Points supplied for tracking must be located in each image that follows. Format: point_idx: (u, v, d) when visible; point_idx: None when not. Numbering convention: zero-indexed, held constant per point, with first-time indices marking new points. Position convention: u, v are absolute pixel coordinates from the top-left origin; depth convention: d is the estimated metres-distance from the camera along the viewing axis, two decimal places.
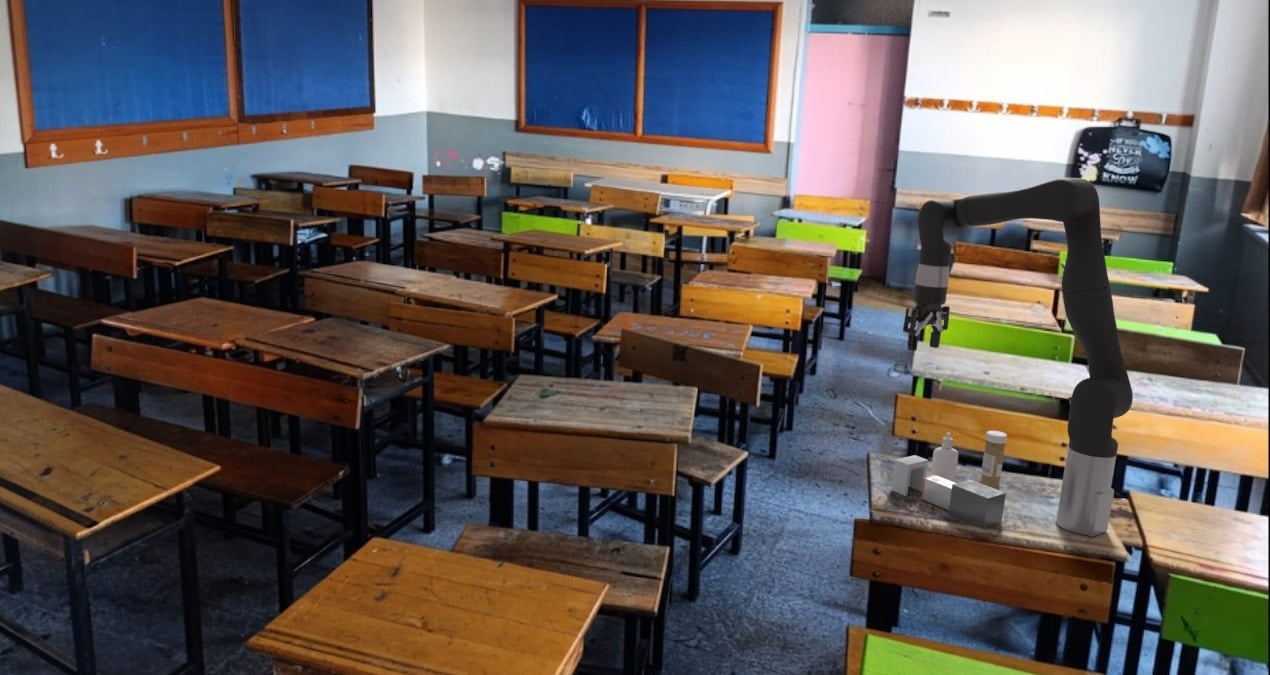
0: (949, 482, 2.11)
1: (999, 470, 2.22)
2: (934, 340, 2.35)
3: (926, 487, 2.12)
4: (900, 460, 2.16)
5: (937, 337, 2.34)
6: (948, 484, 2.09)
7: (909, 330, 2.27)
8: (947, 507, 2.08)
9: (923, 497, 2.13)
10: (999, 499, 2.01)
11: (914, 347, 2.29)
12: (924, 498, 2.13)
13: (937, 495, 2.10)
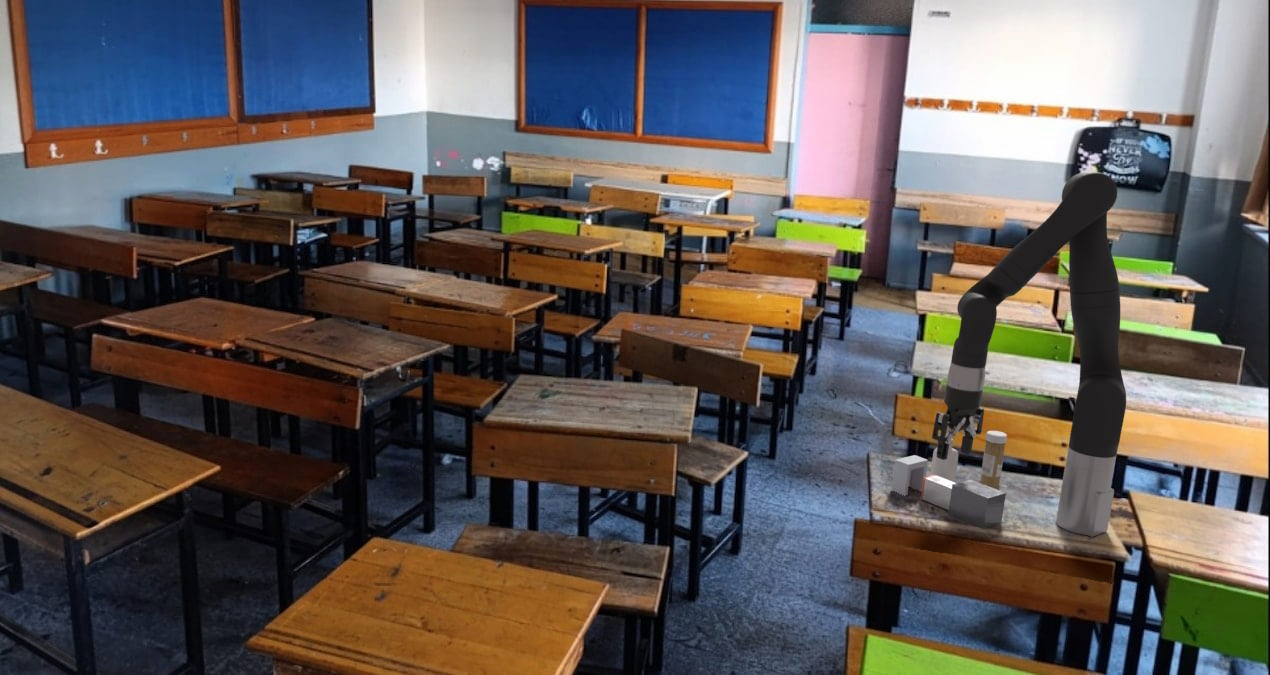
0: (949, 482, 2.11)
1: (999, 470, 2.22)
2: (966, 445, 2.10)
3: (926, 487, 2.12)
4: (900, 460, 2.16)
5: (969, 443, 2.09)
6: (948, 484, 2.09)
7: (939, 438, 2.02)
8: (947, 507, 2.08)
9: (923, 497, 2.13)
10: (999, 499, 2.01)
11: (944, 455, 2.05)
12: (924, 498, 2.13)
13: (937, 495, 2.10)
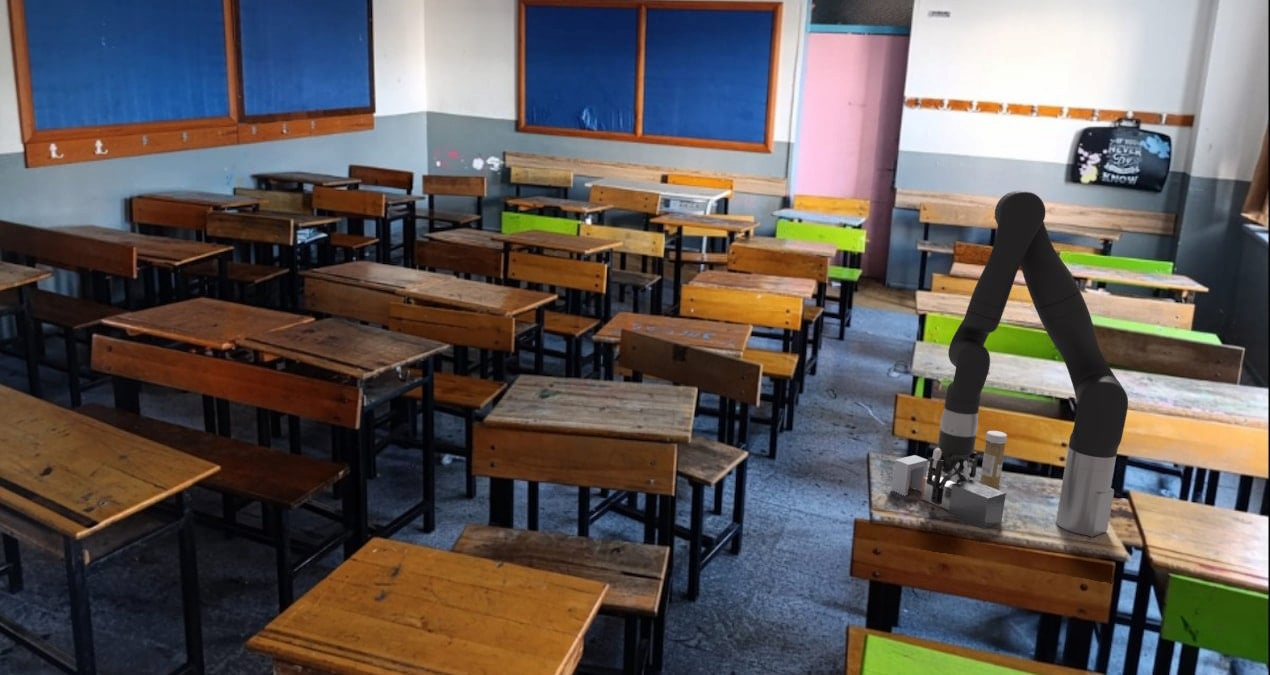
0: (949, 482, 2.11)
1: (999, 470, 2.22)
2: None
3: (926, 487, 2.12)
4: (900, 460, 2.16)
5: None
6: (948, 484, 2.09)
7: (934, 483, 2.04)
8: (947, 507, 2.08)
9: (923, 497, 2.13)
10: (999, 499, 2.01)
11: (938, 500, 2.07)
12: (924, 498, 2.13)
13: None
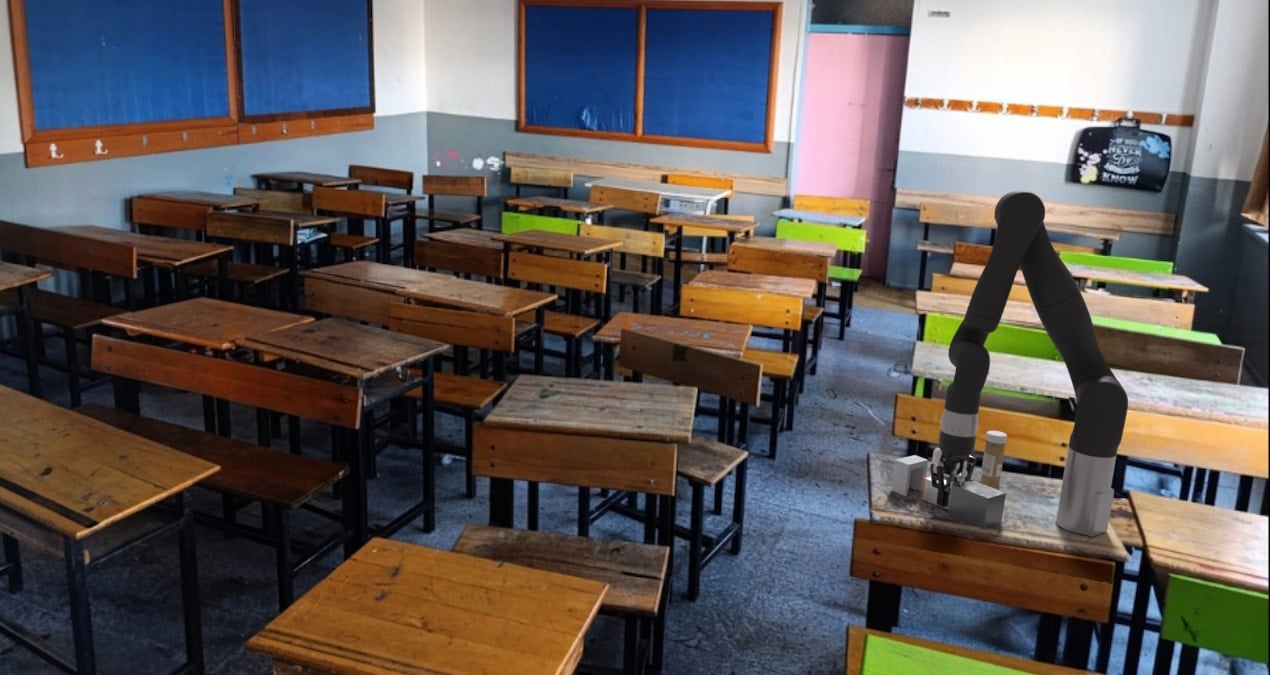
0: None
1: (999, 470, 2.22)
2: None
3: (926, 487, 2.12)
4: (900, 460, 2.16)
5: None
6: None
7: (939, 486, 2.06)
8: (947, 507, 2.08)
9: (923, 497, 2.13)
10: (999, 499, 2.01)
11: (944, 503, 2.08)
12: (924, 498, 2.13)
13: None
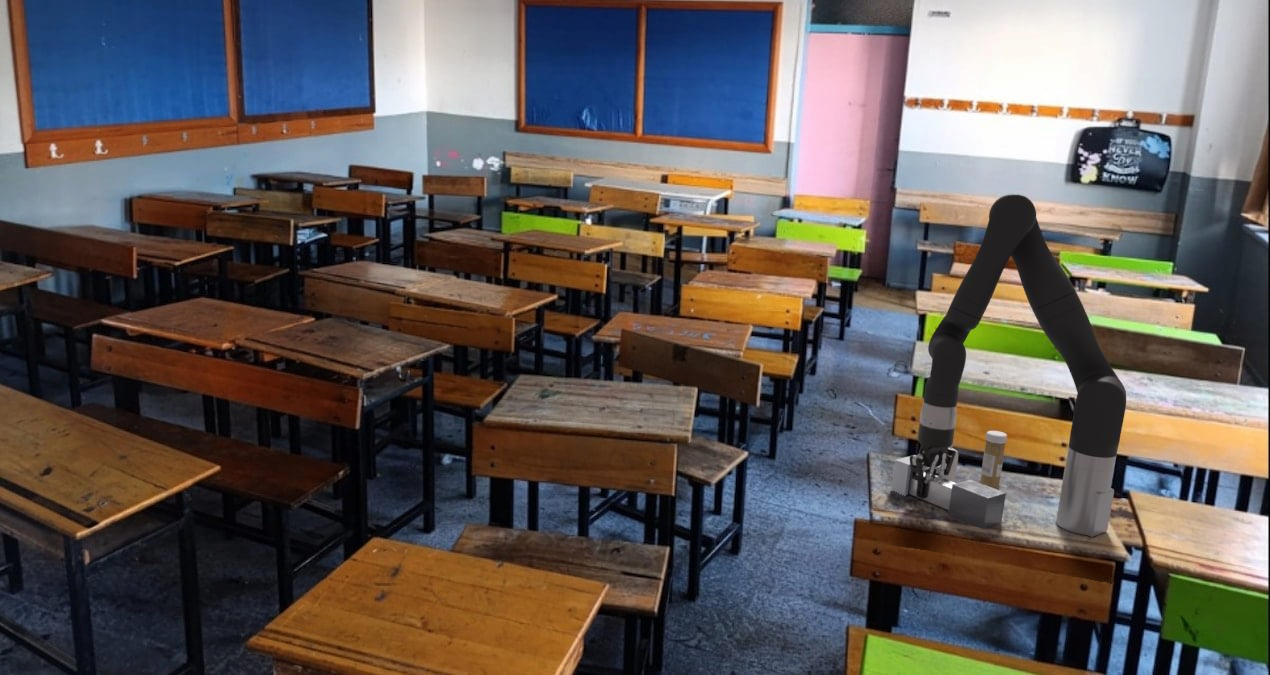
0: None
1: (999, 470, 2.22)
2: None
3: None
4: (900, 460, 2.16)
5: None
6: None
7: (918, 478, 2.10)
8: (926, 498, 2.12)
9: None
10: (999, 499, 2.01)
11: (923, 494, 2.12)
12: None
13: (916, 487, 2.14)
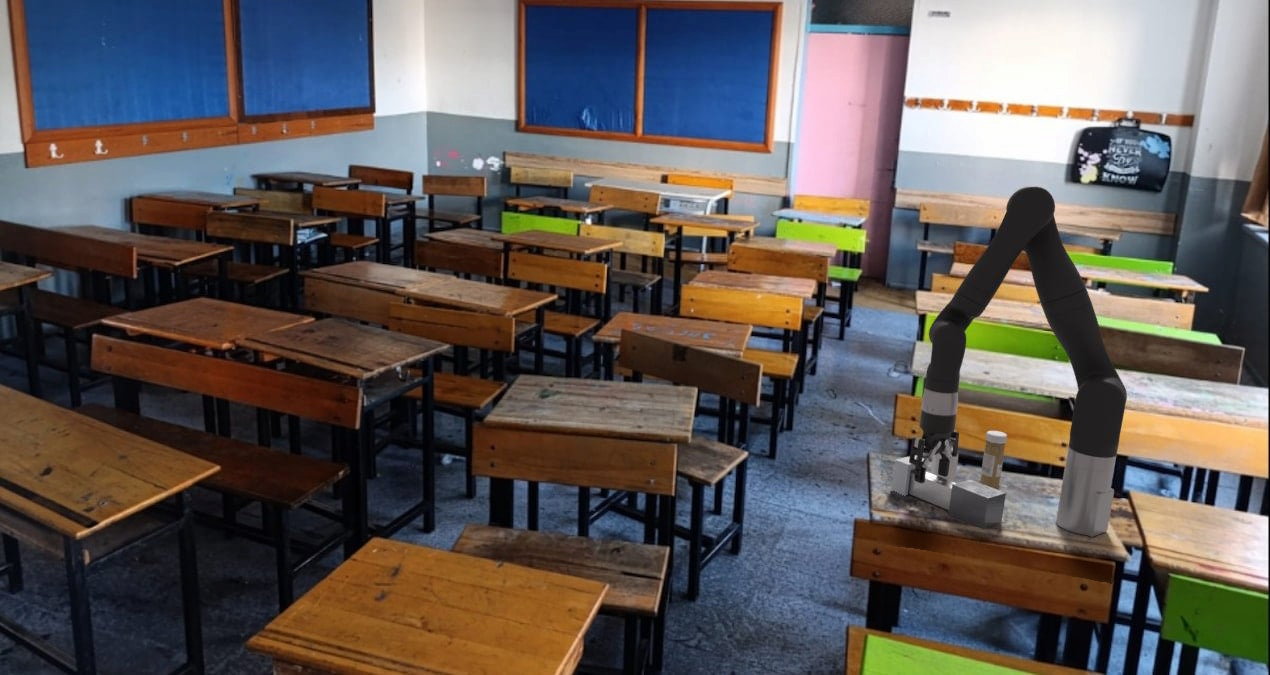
0: (928, 474, 2.15)
1: (999, 470, 2.22)
2: (943, 468, 2.15)
3: None
4: (900, 460, 2.16)
5: (946, 465, 2.14)
6: (928, 476, 2.13)
7: (916, 462, 2.07)
8: (926, 498, 2.12)
9: None
10: (999, 499, 2.01)
11: (921, 479, 2.10)
12: None
13: (916, 487, 2.14)
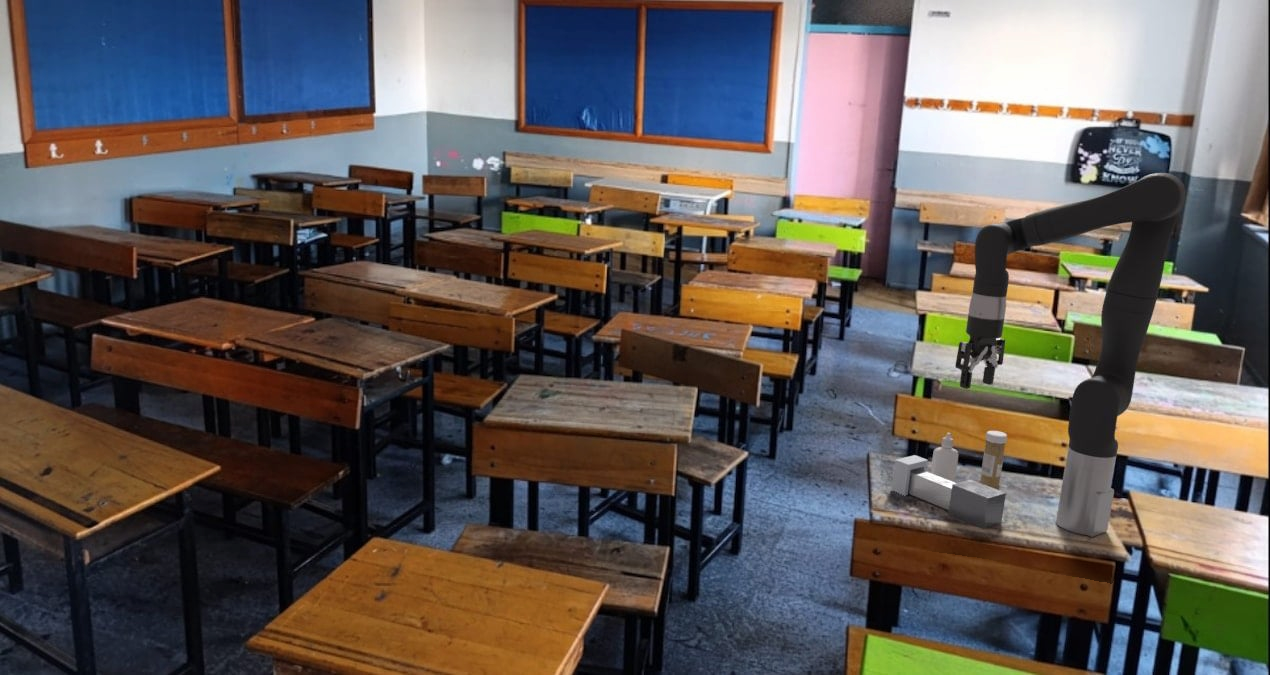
0: (928, 474, 2.15)
1: (999, 470, 2.22)
2: (988, 376, 2.14)
3: None
4: (900, 460, 2.16)
5: (991, 373, 2.14)
6: (928, 476, 2.13)
7: (962, 366, 2.07)
8: (926, 498, 2.12)
9: None
10: (999, 499, 2.01)
11: (967, 384, 2.09)
12: None
13: (916, 487, 2.14)
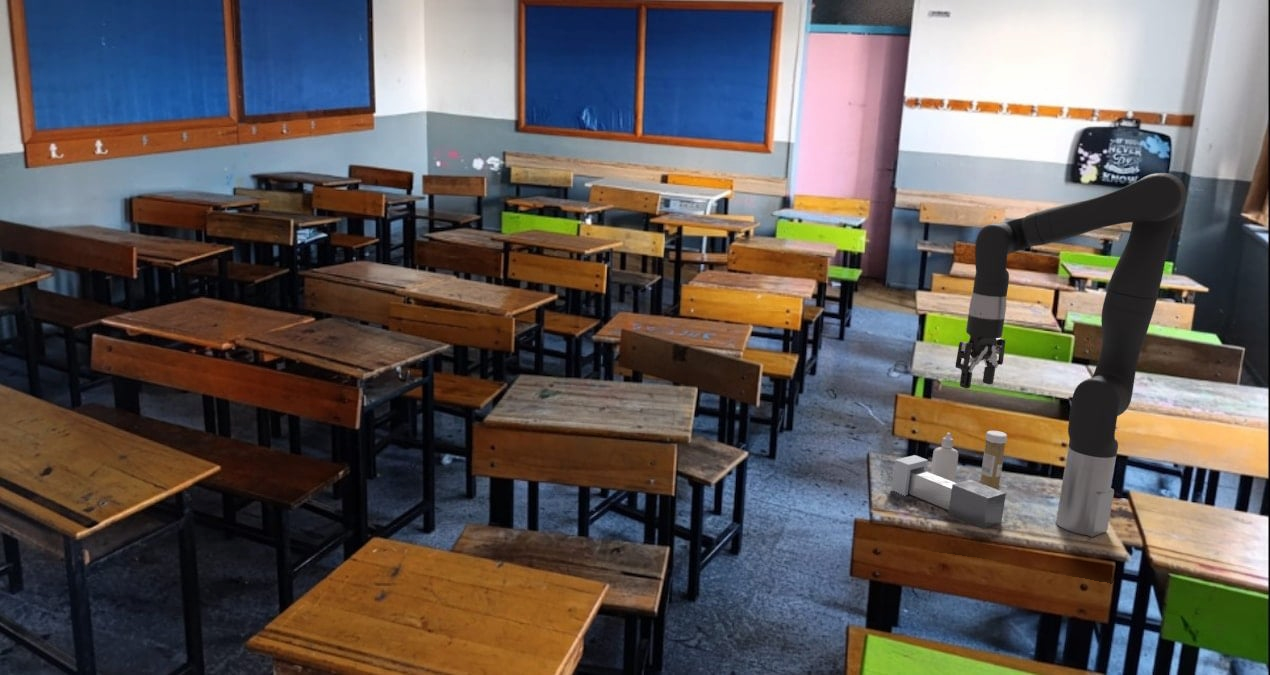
0: (928, 474, 2.15)
1: (999, 470, 2.22)
2: (988, 375, 2.14)
3: None
4: (900, 460, 2.16)
5: (991, 373, 2.14)
6: (928, 476, 2.13)
7: (962, 366, 2.07)
8: (926, 498, 2.12)
9: None
10: (999, 499, 2.01)
11: (967, 384, 2.09)
12: None
13: (916, 487, 2.14)
